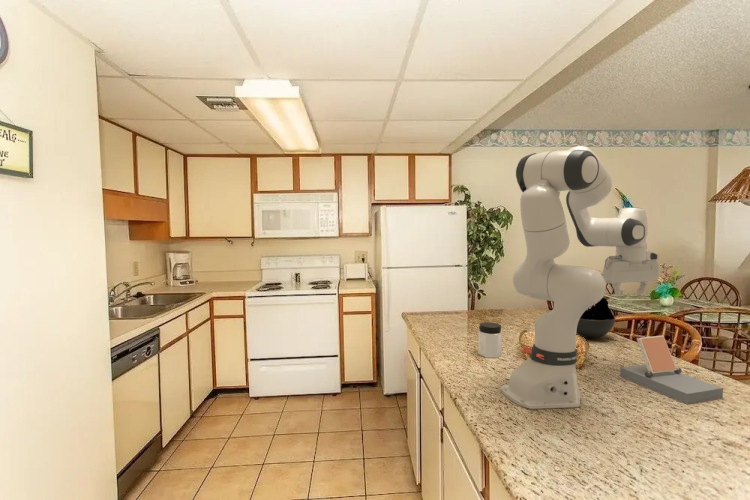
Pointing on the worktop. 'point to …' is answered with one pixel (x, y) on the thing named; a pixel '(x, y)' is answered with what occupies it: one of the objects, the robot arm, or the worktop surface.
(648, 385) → the stand
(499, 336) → the jar
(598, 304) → the coal bowl
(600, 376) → the worktop surface
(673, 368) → the tile
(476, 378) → the worktop surface
